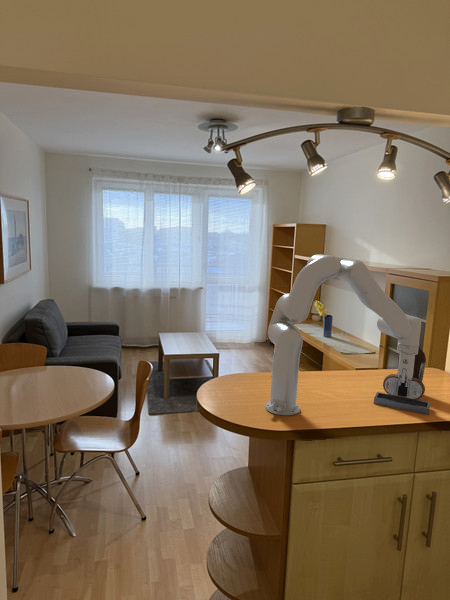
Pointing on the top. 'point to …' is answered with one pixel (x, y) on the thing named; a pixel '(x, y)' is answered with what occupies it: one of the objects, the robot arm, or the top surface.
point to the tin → (414, 386)
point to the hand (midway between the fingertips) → (402, 394)
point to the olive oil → (418, 364)
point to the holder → (402, 403)
